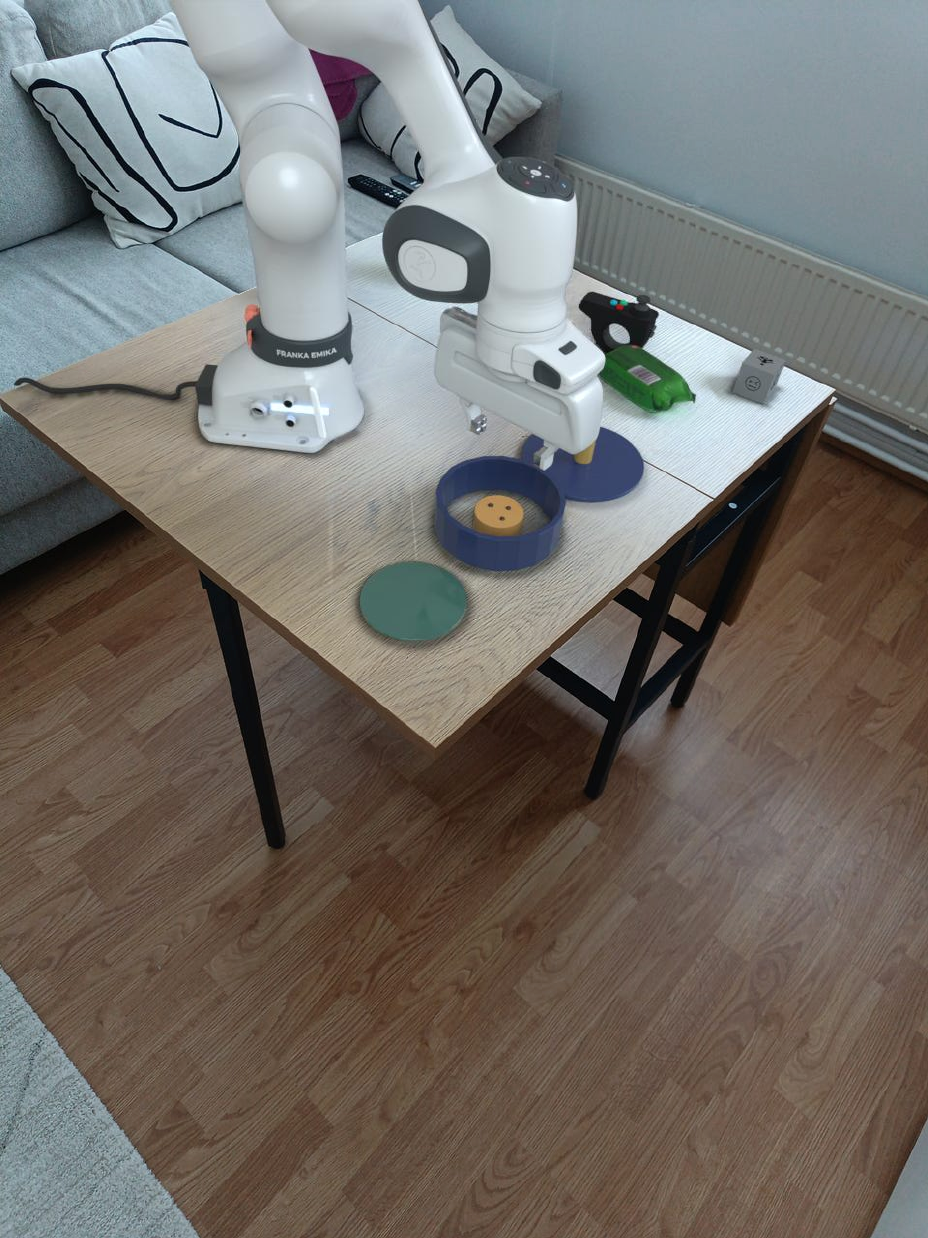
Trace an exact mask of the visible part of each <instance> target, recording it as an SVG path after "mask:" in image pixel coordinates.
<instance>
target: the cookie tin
mask: <svg viewBox="0 0 928 1238" xmlns="http://www.w3.org/2000/svg"><path fill="white" fill-rule="evenodd" d="M437 483H438V484H437V485H436V489H435V496H434V497H435V498H434V516H433V517H434V518H433V520H434V521H433V522H434V523H433V524H434V532H435V536H436V538H437V539H438V541H439V543H440V544H441V546H442V548H443V549H444V550H446V552H448V553H449V554H450V555H451V556H452V557H454V558H455V559H456V560H458V561H460V562H462V563H465V564H467V565H468V566H471V567H473V568H476V569H482V570H487V571H491V572H516V571H519V570H523V569H527V568H530V567H531V568H532V567H534V566H536V565H537V564H539V563H541V562H543V561H544V560H546V559H548V558H549V557H550V556H551V554H552V553H553V552H554V551H555V549H556V548H557V547H558V544H559V540H560V535H561V531H562V526H563V520H564V515H565V511H566V504H567V501H566V500H567V499H566V498H565V496H564V492H563V489H562V487H561V486H560V484H559V483H558V482H557V480H556V479H555V478H554V477H553V476H552V475H551V474H549V473H548V472H546V471H544V470H542V469H540V468H538V467H536V466H535V465H533V464H532V463H530V462H527V461H525V460H522V459H521V458H519V457H517V458H516V457H513V456H506V455H481V456H478V457H473V458H469V459H464V460H463V461H461V462H458V463H456V464H455V465H453V466H451V467H450V468H449V469H447V471H446V472H445V473H444V474H442V476H441V477H440V478H439V481H438V482H437ZM481 491H503V492H508V493H513V494H517V495H519V496H522V497H524V498H527V499H528V500H531V501H533V502H534V503H535V504H537V505H538V506H539V507H540V508H542V509H543V510H544V511H545V513H546V515H548V517H549V518H550V522H548V523H547V524H546V525H544V526H543V527H541V528H539V529H538V530H535V531H532V532H529V533H524V534H520V535H519V536H495V535H489V534H484V533H479V532H477V531H475V530H474V529H473V528H470V527H468V526H465V525H464V524H462V523H461V522H460V521H459V520H457V519H456V518H455V517H453V516H452V515H451V514H450V512H449V511H448V509H447V508H448V507H449V506H450V505H451V504H452V503H453V502H454V501H456V500H458V499H461V498H462V497H464V496H465V495H467V494H472V493H476V492H481Z"/></svg>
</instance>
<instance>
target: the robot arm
mask: <svg viewBox="0 0 928 1238" xmlns="http://www.w3.org/2000/svg"><path fill="white" fill-rule="evenodd" d="M168 1H169V4H170V6H171V8H172V11H173V13H174V15H175V18H176V19H177V22H178V24H179V27H180V29H181V31H182V34H183V36H184V38H185V40H186V43H187V45H188V47H189V49H190V51H191V54H192V57H193V58H194V61H195V63H196V65H197V66H198V68H199V70H201V71H202V72H203V73H204V74H205V76H206V78H207V79H208V81H209V82H210V84H211V86H212V87H213V89H214V91H215V92H216V94H217V96H218V98H219V99H220V102H221V103H222V105H223V106H224V109H225V110H226V112H227V114H228V116H229V118H230V120H231V122H232V124H233V126H234V129H235V130H236V135H237V137H238V142H239V149H240V154H239V162H238V182H239V190H240V195H241V196H240V197H241V202H242V208H243V213H244V219H245V224H246V228H247V229H246V231H247V235H248V240H249V245H250V250H251V254H252V260H253V265H254V275H255V281H256V282H255V283H256V290H257V297H258V305H259V306H258V305H256V304H252V303H251V304H248V305H247V306H246V307H245V310H244V315H243V316H244V317H243V318H244V321H245V322H246V323H245V324H246V325H245V334H246V341H244V342H243V343H242V344H240V345H238V346H237V347H236V348H234V349H233V350H231V351H229V352H228V353H226V354H225V355H224V356H223V357H222V358H221V359H220V361H219V362H218V364H209V363H208V364H207V363H206V364H204V367H203V368H202V371H201V373H200V375H199V377H198V379H197V380H191V381H185V382H182V383H180V384H178V385H177V386H176V387H175V392H174V393H172V394H159V393H157V392H153V391H150V390H147V389H143V388H141V387H139V386H134V385H132V384H131V385H130V384H125V383H99V384H94V385H84V386H78V387H77V386H76V387H53V386H48V385H46V384H43V383H41V382H39V381H37V380H35V379H33V378H30V377H20V378H17V379H16V380H15V381H14V383H13V386H14V387H15V386H16V387H20V386H21V385H22V384H29V385H31V386H33V387H35V388H37V389H39V390H41V391H44V392H47V393H51V394H60V395H61V394H64V395H65V394H66V395H67V394H80V393H88V392H93V391H103V390H125V391H130V392H134V393H137V394H141V395H144V396H148V397H153V398H158V399H162V400H165V401H173V400H176V399H178V398H180V396H181V394H182V393H181V392H182V390H184V389H185V388H193V387H194V388H195V395H196V398H197V404H198V410H197V417H198V420H197V421H198V427H199V430H200V433H201V435H202V436H203V437H204V439H205V440H206V441H208V442H209V443H210V442H211V443H217V444H226V445H233V446H234V445H235V446H241V447H243V446H244V447H252V448H260V449H270V450H280V451H288V452H297V453H306V454H314V453H317V452H320V451H321V450H323V448H324V447H326V446H327V445H328V444H329V443H330V442H332V441H334V440H335V439H336V438H337V437H341V436H342V435H345V434H347V433H348V432H352V431H353V430H355V429H356V428H357V427H358V426H359V425H360V423H361V422H362V420H363V417H364V415H365V407H364V403H363V401H362V398H361V395H360V393H359V392H360V391H359V389H358V386H357V381H356V376H355V372H354V366H353V365H354V364H353V360H354V355H355V338H354V337H355V336H354V325H353V321H352V320H353V319H352V316H351V313H350V312H349V300H348V299H349V298H348V296H349V295H348V276H347V251H346V250H347V248H346V247H347V246H346V245H347V244H346V243H347V241H346V240H347V239H346V208H345V207H346V205H345V184H344V183H345V181H344V169H343V167H344V166H343V157H342V147H341V135H340V129H339V124H338V121H337V119H336V116H335V113H334V111H333V108H332V105H331V103H330V100H329V97H328V94H327V92H326V90H325V87H324V84H323V82H322V79H321V76H320V74H319V72H318V69H317V66H316V64H315V62H314V59H313V57H312V55H311V52H310V50H312V51H314V52H317V53H320V54H322V55H326V56H332V57H338V58H343V59H346V60H350V61H352V62H354V63H357V64H359V65H360V66H362V67H364V68H366V69H367V70H369V71H370V72H371V73H373V74H374V75H375V76H376V77H377V78H378V79H379V81H380V82H381V83H382V85H383V86H384V87H385V88H386V91H387V92H388V93H389V96H390V98H391V100H392V102H393V103H394V106H395V108H396V109H397V111H398V113H399V115H400V117H401V119H402V122H403V123H404V126H405V128H406V129H407V131H408V133H409V135H410V137H411V140H412V141H413V143H414V145H415V147H416V149H417V151H418V153H419V155H420V158H421V161H422V163H423V172H424V174H423V176H424V177H423V182H422V184H420V186H419V187H417V188H416V189H415V190H414V191H412V192H411V193H410V195H408V196H407V197H406V198H405V199H403V201H402V202H401V204H400V205H398V207H397V208H396V209H395V210H394V211H393V213H392V214H391V215H390V216H389V217H388V219H387V220H386V222H385V225H384V228H383V231H382V238H381V247H382V248H381V249H382V254H383V258H384V261H385V265H386V266H387V269H388V270H389V272H390V274H391V276H392V277H393V279H394V280H395V282H396V283H397V284H398V285H399V286H400V287H401V288H402V289H403V290H404V291H405V292H407V293H408V294H410V295H412V296H414V297H415V298H417V299H421V300H423V301H428V302H435V303H445V304H446V303H447V304H463V305H464V304H475V303H476V304H477V314H474V313H470V312H468V311H466V310H465V309H464V308H461V307H459V306H452V307H451V308H449V307H447V308H446V309H444V310H443V311H442V313H441V315H440V318H439V333H440V334H439V337H438V340H437V344H436V349H435V351H436V352H435V357H434V366H433V376H434V378H435V380H436V382H437V384H438V385H439V386H440V387H441V388H443V389H445V390H447V391H449V392H451V393H453V394H455V395H457V396H458V397H459V403H460V406H461V409H462V411H463V413H464V415H465V418H466V420H467V422H466V430H467V431H469V432H471V433H473V434H474V435H476V436H479V435H481V433H484V432H485V431H486V429H487V426H488V425H487V422H488V416H486V415H484V414H482V410H481V409H484V410H486V411H488V412H489V413H491V414H493V415H495V416H497V417H499V418H500V419H503V420H505V421H507V422H508V423H511V424H513V425H514V426H517V427H518V428H520V429H523V431H526V432H528V433H530V434H531V435H532V434H534V435H536V436H538V437H540V438H541V439H543V440H544V446H545V447H544V446H543V447H542V448H541V449H540V451H537V452H536V453H534V458H533V459H534V461H533V465H535V466H536V467H538V468H540V469H542V470H544V471H545V470H546V469H547V468H549V467H550V466H551V464H552V462H553V456H554V453H555V452H556V451H557V450H558V449H559V448H561V449H563V450H565V451H566V452H568V453H570V454H577V453H579V452H581V451H583V450H584V449H586V448H587V447H589V446H590V445H591V444H592V443H593V442H594V441H595V440H596V439H597V437H598V434H599V430H600V427H601V426H602V425H601V424H602V417H603V409H604V388H603V384H602V382H601V380H600V379H599V377H598V375H599V374H600V373H599V372H600V371H601V370H602V369H603V368H604V365H605V353H604V351H603V350H602V349H601V348H600V347H599V346H598V345H597V344H596V345H595V343H594V342H592V341H591V340H590V339H589V338H588V337H587V336H585V335H584V334H583V332H581V331H580V330H579V329H578V328H577V327H576V326H575V324H574V323H573V322H572V321H571V320H570V319H569V318H567V315H568V303H567V296H566V294H567V293H566V292H567V287H568V285H569V283H570V280H571V278H572V275H573V272H574V265H575V257H576V248H577V237H578V236H577V235H578V201H577V194H576V191H575V189H574V186H573V184H572V182H571V180H570V179H569V177H567V175H566V174H565V173H564V172H563V171H561V170H560V169H559V168H558V167H556V166H555V165H553V164H551V163H549V162H547V161H545V160H541V159H538V158H534V157H529V156H509V157H506V158H503V157H502V155H500V154H499V152H498V151H497V150H496V149H495V147H494V146H493V145H492V144H491V143H490V141H489V140H488V139H487V138H486V136H485V134H484V132H483V131H482V130H481V128H480V126H479V124H478V121H477V120H476V117H475V116H474V113H473V111H472V109H471V107H470V104H469V102H468V100H467V98H466V96H465V93H464V91H463V89H462V87H461V85H460V83H459V80H458V78H457V76H456V74H455V71H454V69H453V67H452V65H451V63H450V60H449V58H448V56H447V54H446V52H445V49H444V47H443V46H442V42H441V40H440V39H439V37H438V34H437V33H436V29H435V27H434V26H433V23H432V22H431V19H430V18H429V16H428V14H427V12H426V10H425V8H424V7H423V5H422V3H421V1H420V0H168ZM309 49H310V50H309ZM546 447H548V448H546Z"/></svg>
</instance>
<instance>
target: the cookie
mask: <svg viewBox="0 0 928 1238" xmlns="http://www.w3.org/2000/svg"><path fill="white" fill-rule="evenodd" d="M524 517H525V513H524V508H523V506H522V505H521V504H520V503H519V501H517V500H516V499H514V498H512V497H509V496H506V495H501V494H500V495H498V494H497V495H495V494H494V495H488V496H485V497H483V498H481V499H479V500H478V501H477V502H476V504H475V506H474V510H473V520H472V529H473V530H475V531H477V532H479V533H484V534H489V535H495V536H520V535H521V533H522V530H523V529H522V528H523V523H524Z"/></svg>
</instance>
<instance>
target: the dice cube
mask: <svg viewBox="0 0 928 1238" xmlns="http://www.w3.org/2000/svg"><path fill="white" fill-rule="evenodd" d="M786 361H787V360H786V359H785V358H781V357H778V356H776V355H772V354H770V353H767V352H765V351H762V350H759V349H756V348H753V349H752V351H751V352H750V353H748V355H747V357H745V358H744V360H742V362H741V365H740V368H739V371H738V374H737V376H736V380H735V383H734V386H733V388H732V391H731V393H732V394H736V395H738V396H741V397H743V398H746V399H748V400H751V401H753V402H757V403H759V404H761V405H765V404H766V402H767V401H768V400H769V398H770V397H771V395H772V394H773V393H774V392H775V390H776V388H777V386H778V383H779V380H780V377H781V375H782V372H783V370H784V367H785V364H786Z"/></svg>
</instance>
